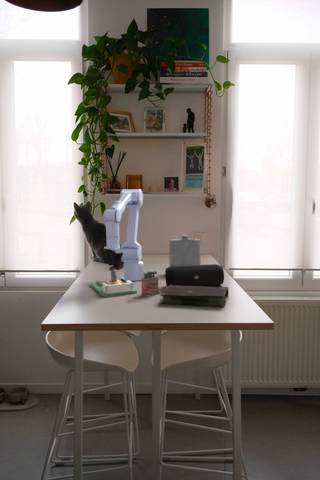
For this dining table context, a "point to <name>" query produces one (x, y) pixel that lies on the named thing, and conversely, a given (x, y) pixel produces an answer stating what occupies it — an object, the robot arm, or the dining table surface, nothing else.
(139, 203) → the robot arm
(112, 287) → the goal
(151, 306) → the dining table surface
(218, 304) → the diary
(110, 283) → the beige block
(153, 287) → the lighter
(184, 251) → the hip flask
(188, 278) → the portable speaker
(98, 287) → the pitch
